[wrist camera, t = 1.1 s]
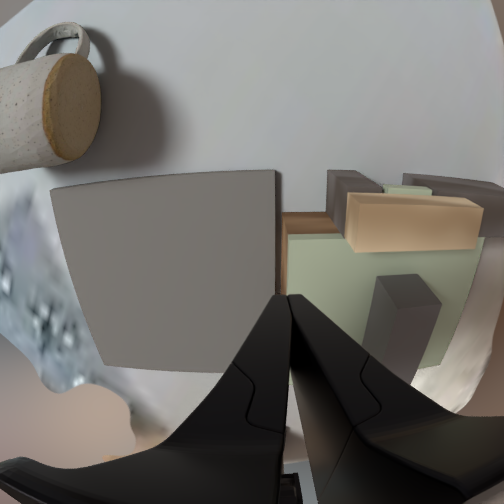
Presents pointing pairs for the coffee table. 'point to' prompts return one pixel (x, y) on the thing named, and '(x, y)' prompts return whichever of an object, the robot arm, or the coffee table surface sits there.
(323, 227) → the toolbox
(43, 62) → the ceramic mug
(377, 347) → the toolbox lid
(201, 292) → the rubber mat
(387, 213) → the wooden block
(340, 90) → the coffee table surface
